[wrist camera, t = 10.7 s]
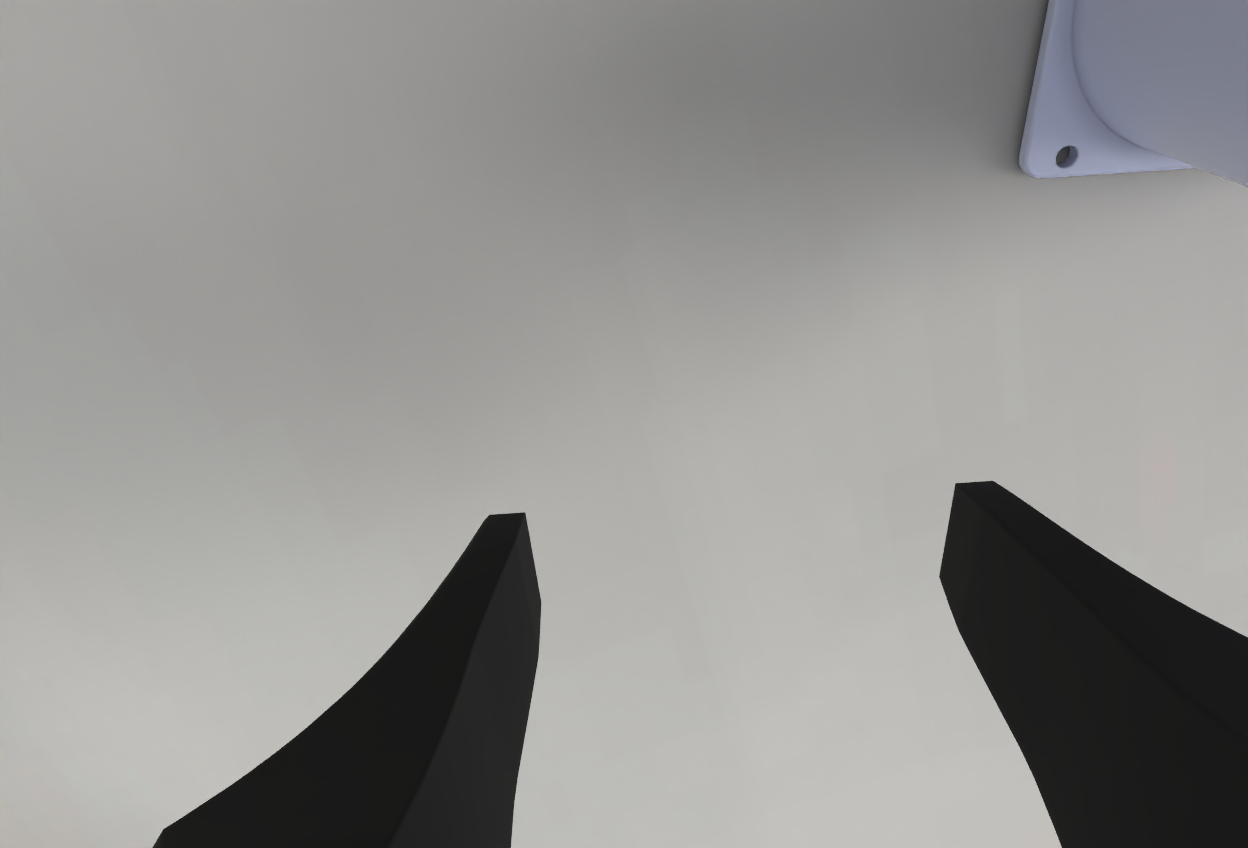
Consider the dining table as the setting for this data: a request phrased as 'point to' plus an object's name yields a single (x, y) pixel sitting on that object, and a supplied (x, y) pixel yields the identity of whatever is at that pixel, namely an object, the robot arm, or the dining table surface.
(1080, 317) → the dining table surface
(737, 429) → the dining table surface
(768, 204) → the dining table surface
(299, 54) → the dining table surface
